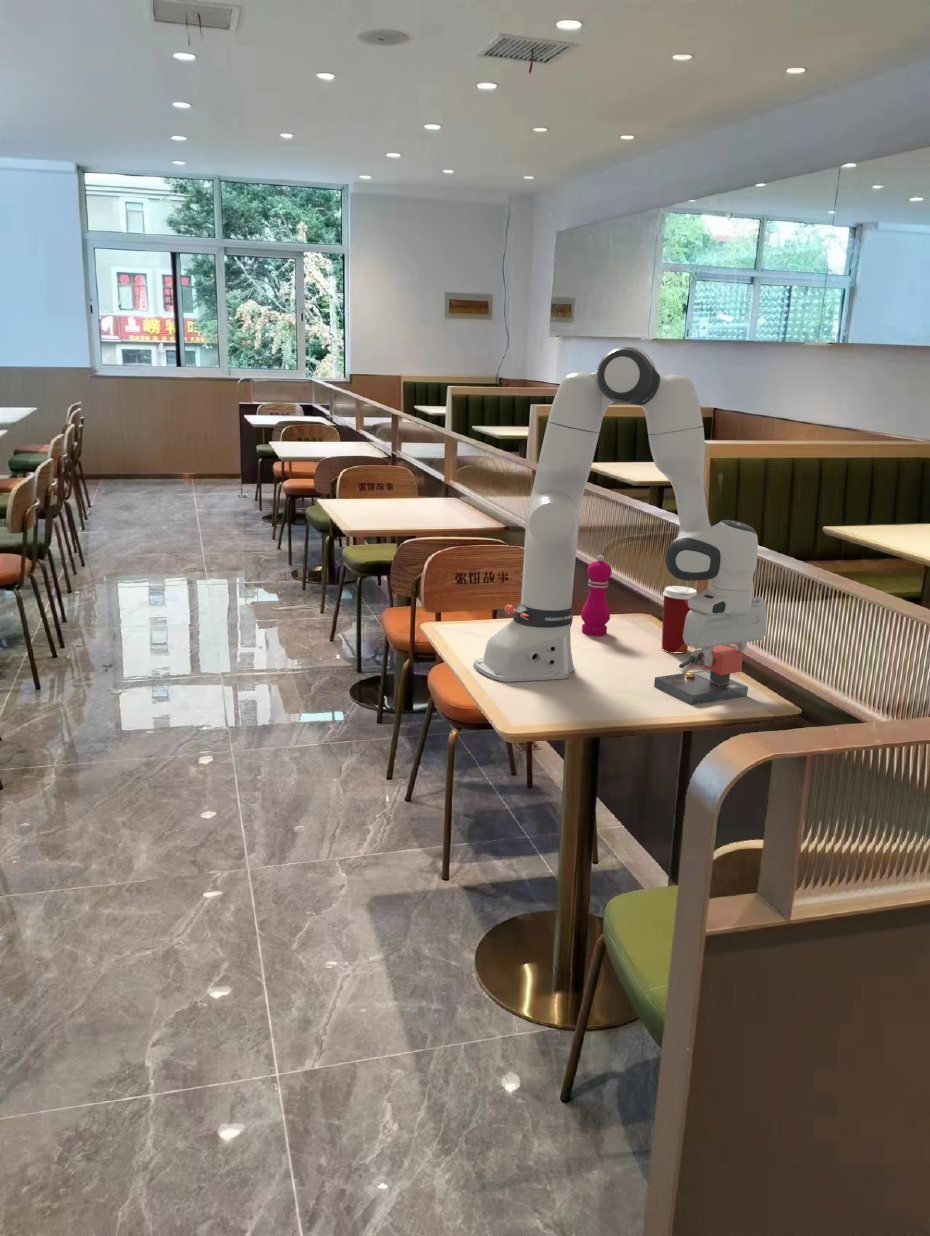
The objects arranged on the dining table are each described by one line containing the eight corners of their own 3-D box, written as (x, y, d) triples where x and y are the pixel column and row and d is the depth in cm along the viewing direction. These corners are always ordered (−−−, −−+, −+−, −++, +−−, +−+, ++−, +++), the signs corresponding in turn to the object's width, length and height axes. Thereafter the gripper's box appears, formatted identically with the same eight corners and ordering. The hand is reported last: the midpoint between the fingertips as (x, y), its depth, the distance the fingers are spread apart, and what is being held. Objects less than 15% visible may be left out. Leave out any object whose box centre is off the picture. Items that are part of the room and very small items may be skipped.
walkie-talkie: (705, 651, 233) (675, 671, 216) (707, 634, 231) (677, 652, 215) (741, 659, 228) (713, 679, 212) (743, 641, 227) (715, 660, 211)
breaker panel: (692, 704, 194) (693, 691, 193) (654, 686, 204) (655, 673, 203) (747, 695, 201) (748, 683, 200) (707, 678, 211) (709, 666, 211)
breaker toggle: (719, 683, 201) (720, 671, 200) (709, 679, 204) (711, 667, 203) (729, 681, 202) (730, 669, 202) (719, 677, 205) (721, 665, 204)
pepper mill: (613, 632, 244) (620, 555, 239) (601, 638, 238) (608, 559, 233) (587, 627, 248) (593, 550, 243) (575, 632, 242) (581, 554, 237)
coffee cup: (694, 655, 228) (702, 594, 224) (660, 653, 228) (666, 592, 224) (687, 645, 236) (694, 586, 232) (654, 643, 236) (660, 584, 232)
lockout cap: (721, 675, 199) (723, 655, 198) (702, 667, 203) (704, 648, 202) (741, 671, 201) (743, 652, 200) (722, 664, 206) (724, 645, 205)
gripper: (755, 592, 206) (747, 654, 210) (681, 600, 196) (675, 664, 200) (777, 599, 201) (769, 662, 204) (703, 607, 191) (695, 673, 195)
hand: (722, 663), depth 202 cm, fingers closed on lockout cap, 6 cm apart
